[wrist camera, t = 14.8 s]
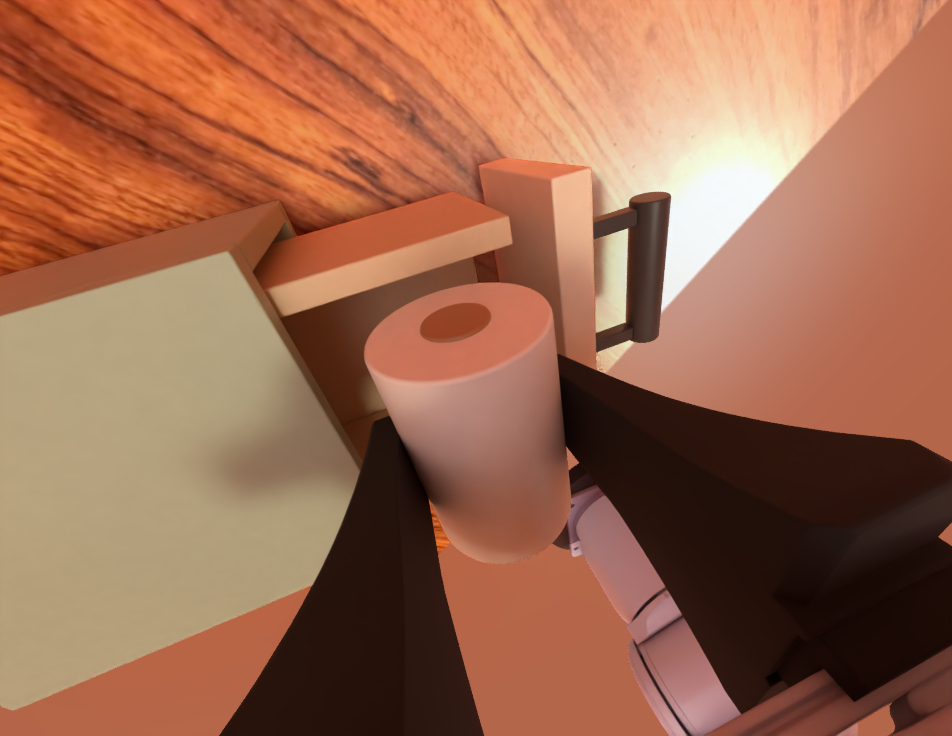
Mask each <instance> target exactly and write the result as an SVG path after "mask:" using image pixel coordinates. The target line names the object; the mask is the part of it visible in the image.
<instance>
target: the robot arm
mask: <svg viewBox="0 0 952 736" xmlns="http://www.w3.org/2000/svg"><path fill="white" fill-rule="evenodd" d="M557 360H558V370H559V380H560V390H561V400H562V410H563V421H564V431H565V441H566V446H567V448H568V449H569V450H570V451H571V453H572V454H573V455H574V457H575V458H576V459H577V460H578V462H579V463H580V464H581V465H582V467H583V468H584V469H585V470H586V472H587V473H588V474H589V475H590V477H591V478H592V479H593V481H594V482H595V483H596V484H595V485H593V486H591V487H588V488H586V489H584V490H581V491H579V492H577V493H574V494H572V495H571V507H570V513H569V516H568V520H567V528H568V536H569V545H570V553H571V555H572V556H573V557H576V556H578V555H581V554H583V556H584V557H585V559H586V561H587V563H588V565H589V566H590V568H591V570H592V571H593V573H594V575H595V576H596V578H597V580H598V581H599V583H600V585H601V587H602V588H603V590H604V592H605V593H606V595H607V597H608V598H609V600H610V602H611V604H612V605H613V607H614V609H615V610H616V611H617V613H618V614H619V615H620V617H621V618H623V620H624V621H626V622H627V623H628V625H627V628H628V630H629V632H630V633H631V635H632V637H633V639H632V640H630V641H629V642H628V661H629V664H630V667H631V669H632V672H633V674H634V676H635V679H636V680H637V683H638V685H639V687H640V689H641V691H642V692H643V694H644V696H645V698H646V700H647V701H648V703H649V705H650V707H651V708H652V710H653V711H654V713H655V715H656V716H657V718H658V720H659V721H660V723H661V724H662V726H663V727H664V729H665V730H666V731H667V733H668V734H669V736H858V722H860V721H862V720H863V719H865V718H867V717H868V716H870V715H872V714H873V713H874V712H877V711H878V710H880V709H882V708H883V707H885V706H887V705H889V704H890V703H892V704H891V705H890V715H891V717H892V719H893V721H894V724H895V730H894V732H893V733H891V734H890V735H888V736H952V546H950V545H949V544H948V543H946V542H945V541H943V540H941V539H940V538H939V537H938V536H939V535H940V534H941V533H942V532H943V531H944V530H945V529H946V528H947V527H948V526H949V525H950V524H951V522H952V462H951V461H950V460H948V459H946V458H944V457H942V456H940V455H938V454H937V453H935V452H933V451H931V450H929V449H927V448H925V447H923V446H921V445H920V444H918V443H916V442H914V441H911V440H904V439H894V438H884V437H875V436H865V435H856V434H846V433H836V432H829V431H821V430H815V429H808V428H801V427H794V426H788V425H782V424H777V423H771V422H766V421H760V420H756V419H750V418H746V417H741V416H736V415H731V414H727V413H722V412H718V411H715V410H710V409H707V408H703V407H699V406H696V405H692V404H689V403H685V402H681V401H678V400H675V399H671V398H668V397H665V396H662V395H659V394H656V393H654V392H651V391H648V390H645V389H642V388H639V387H637V386H634V385H631V384H629V383H626V382H624V381H621V380H619V379H616V378H614V377H611V376H609V375H607V374H604V373H602V372H600V371H597V370H595V369H593V368H590V367H588V366H586V365H583V364H581V363H579V362H577V361H574V360H572V359H570V358H568V357H565V356H563V355H560V354H557ZM219 736H484V734H483V730H482V727H481V723H480V720H479V716H478V713H477V709H476V705H475V702H474V699H473V695H472V691H471V687H470V684H469V680H468V677H467V673H466V670H465V666H464V662H463V659H462V655H461V651H460V647H459V643H458V640H457V636H456V632H455V629H454V625H453V621H452V617H451V614H450V610H449V606H448V602H447V598H446V594H445V590H444V585H443V581H442V576H441V570H440V564H439V558H438V552H437V546H436V540H435V534H434V528H433V522H432V516H431V511H430V505H429V499H428V496H427V494H426V492H425V490H424V487H423V485H422V483H421V481H420V479H419V477H418V475H417V472H416V470H415V468H414V466H413V464H412V462H411V460H410V458H409V455H408V453H407V451H406V449H405V447H404V445H403V443H402V440H401V438H400V436H399V434H398V432H397V430H396V428H395V426H394V423H393V421H392V419H391V417H390V416H387V417H384V418H382V419H379V420H376V421H374V423H373V424H372V427H371V432H370V436H369V441H368V445H367V449H366V453H365V456H364V460H363V463H362V467H361V470H360V473H359V476H358V479H357V483H356V486H355V489H354V492H353V494H352V497H351V500H350V502H349V505H348V508H347V510H346V513H345V516H344V518H343V521H342V523H341V526H340V528H339V530H338V533H337V535H336V538H335V540H334V542H333V544H332V546H331V549H330V551H329V553H328V555H327V557H326V559H325V561H324V563H323V566H322V568H321V570H320V572H319V573H318V575H317V577H316V579H315V581H314V583H313V585H312V587H311V589H310V591H309V593H308V595H307V596H306V598H305V600H304V602H303V604H302V606H301V608H300V609H299V611H298V613H297V615H296V616H295V618H294V620H293V622H292V624H291V625H290V627H289V628H288V630H287V632H286V633H285V635H284V637H283V638H282V640H281V642H280V643H279V645H278V646H277V648H276V650H275V651H274V653H273V655H272V656H271V658H270V659H269V661H268V663H267V665H266V666H265V668H264V669H263V671H262V673H261V675H260V676H259V677H258V679H257V681H256V682H255V684H254V685H253V687H252V688H251V690H250V691H249V693H248V694H247V696H246V698H245V699H244V700H243V702H242V703H241V705H240V706H239V708H238V709H237V711H236V712H235V714H234V715H233V716H232V718H231V719H230V721H229V722H228V724H227V725H226V726H225V728H224V729H223V731H222V732H221V734H220V735H219Z"/></svg>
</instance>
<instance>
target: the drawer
mask: <svg viewBox="0 0 952 736" xmlns="http://www.w3.org/2000/svg"><path fill="white" fill-rule="evenodd" d="M479 172H480V177H481V183H482V188H483V194H484V199H485V205H486V206H485V205H483V204H481V203H479V202H476V201H474V200H472V199H470V198H467V197H465V196H463V195H461V194H459V193H456V192H449V193H446V194H443V195H439V196H436V197H432V198H429V199H425V200H422V201H418V202H415V203H411V204H408V205H405V206H401V207H398V208H394V209H391V210H387V211H384V212H380V213H377V214H373V215H370V216H367V217H363V218H360V219H356V220H353V221H349V222H346V223H342V224H339V225H335V226H332V227H329V228H325V229H322V230H318V231H315V232H311V233H308V234H304V235H301V236H297V237H294V238H290V239H287V240H284V241H280V242H277V243H273V244H271V245H270V246H269V248H268V249H267V251H266V252H265V254H264V255H263V257H262V258H261V260H260V261H259V263H258V264H257V266H256V267H255V269H254V270H253V274H254V276H255V277H256V279H257V281H258V282H259V284H260V286H261V288H262V289H263V291H264V293H265V294H266V296H267V298H268V300H269V301H270V303H271V305H272V306H273V308H274V310H275V312H276V313H277V315H278V317H279V318H280V320H281V322H282V324H283V325H284V327H285V329H286V331H287V332H288V334H289V336H290V337H291V339H292V341H293V343H294V344H295V346H296V348H297V349H298V351H299V353H300V355H301V356H302V358H303V360H304V361H305V363H306V365H307V367H308V368H309V370H310V372H311V373H312V375H313V377H314V379H315V380H316V382H317V384H318V386H319V387H320V389H321V391H322V392H323V394H324V396H325V398H326V399H327V401H328V403H329V404H330V406H331V408H332V410H333V411H334V413H335V415H336V416H337V418H338V420H339V422H340V423H341V425H342V427H343V428H344V430H345V432H346V434H347V435H348V437H349V439H350V441H351V442H352V444H353V446H354V447H355V449H356V451H357V453H358V454H359V456H360V458H361V459H362V461H363V460H364V456H365V453H366V449H367V445H368V441H369V436H370V432H371V427H372V424H373V423H374V421H376V420H379V419H382V418H384V417H387V416H390V415H389V413H388V411H387V408H386V406H385V404H384V402H383V400H382V398H381V396H380V394H379V391H378V389H377V387H376V385H375V383H374V381H373V379H372V376H371V374H370V372H369V370H368V368H367V366H366V364H365V360H364V348H365V344H366V341H367V339H368V338H369V336H370V334H371V333H372V331H373V330H374V329H375V328H376V327H377V326H378V325H379V324H380V323H381V322H382V321H383V320H384V319H385V318H386V317H388V316H389V315H391V314H392V313H393V312H395V311H396V310H398V309H400V308H401V307H403V306H405V305H407V304H409V303H410V302H413V301H415V300H417V299H419V298H421V297H424V296H427V295H429V294H432V293H435V292H438V291H441V290H445V289H448V288H453V287H457V286H462V285H468V284H476V283H479V282H478V277H477V272H476V268H475V263H474V259H473V257H474V256H477V255H480V254H484V253H487V252H490V251H493V250H494V254H495V259H496V265H497V270H498V276H499V281H500V283H510V284H516V285H521V286H524V287H527V288H530V289H532V290H534V291H536V292H538V293H539V294H541V295H542V296H543V297H544V298H545V299H546V300H547V301H548V303H549V305H550V306H551V308H552V312H553V319H554V329H555V339H556V349H557V354H560V355H563V356H565V357H568V358H570V359H572V360H574V361H577V362H579V363H581V364H583V365H586V366H588V367H590V368H593V369H595V370H597V367H596V352H599V351H601V350H604V349H607V348H609V347H612V346H615V345H617V344H620V343H623V342H625V341H628V340H631V341H633V342H638V343H646V342H650V341H653V340H655V339H656V338H657V337H658V335H659V325H660V314H661V303H662V292H663V281H664V270H665V258H666V247H667V236H668V225H669V214H670V203H671V195H670V194H669V193H666V192H650V193H644V194H640V195H637V196H634V197H632V198H631V199H630V201H629V208H628V207H627V208H624V209H621V210H618V211H615V212H612V213H608V214H605V215H602V216H599V217H596V218H593V206H592V169H591V167H584V166H574V165H565V164H556V163H546V162H537V161H528V160H518V159H509V158H503V159H500V160H496V161H493V162H489V163H485V164H482V165H480V166H479ZM627 228H628V259H627V294H626V323H623V324H620V325H617V326H614V327H612V328H609V329H606V330H603V331H601V332H598V333H596V326H595V286H594V246H593V239H596V238H600V237H603V236H606V235H609V234H612V233H615V232H618V231H621V230H624V229H627Z"/></svg>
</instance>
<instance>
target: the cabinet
mask: <svg viewBox="0 0 952 736" xmlns="http://www.w3.org/2000/svg"><path fill="white" fill-rule="evenodd" d="M294 237H297V235H296V233H295V230H294V228H293V226H292V224H291V222H290V220H289V218H288V216H287V214H286V212H285V210H284V208H283V205H282V203H281V202H280V201H279V200H276V201H273V202H269V203H265V204H262V205H258V206H254V207H251V208H247V209H243V210H240V211H236V212H232V213H229V214H225V215H222V216H218V217H214V218H211V219H207V220H203V221H200V222H196V223H192V224H189V225H185V226H181V227H178V228H174V229H170V230H167V231H163V232H159V233H156V234H152V235H148V236H145V237H141V238H138V239H134V240H130V241H127V242H123V243H119V244H116V245H112V246H108V247H105V248H101V249H97V250H94V251H90V252H86V253H83V254H79V255H75V256H72V257H68V258H65V259H61V260H57V261H54V262H50V263H46V264H43V265H39V266H35V267H32V268H28V269H24V270H21V271H17V272H13V273H10V274H6V275H2V276H0V707H4V708H7V709H10V710H17V709H19V708H21V707H24V706H26V705H29V704H31V703H34V702H36V701H38V700H41V699H43V698H46V697H48V696H50V695H53V694H55V693H57V692H60V691H62V690H65V689H67V688H69V687H72V686H74V685H76V684H79V683H81V682H83V681H86V680H88V679H91V678H93V677H95V676H97V675H100V674H103V673H105V672H107V671H110V670H112V669H114V668H117V667H119V666H122V665H124V664H126V663H129V662H131V661H133V660H136V659H138V658H141V657H143V656H145V655H148V654H150V653H152V652H155V651H157V650H160V649H162V648H164V647H167V646H169V645H171V644H174V643H176V642H178V641H181V640H183V639H186V638H188V637H190V636H193V635H195V634H198V633H200V632H202V631H205V630H207V629H209V628H212V627H214V626H216V625H219V624H221V623H224V622H226V621H228V620H231V619H233V618H235V617H238V616H240V615H243V614H245V613H247V612H250V611H252V610H255V609H257V608H259V607H262V606H264V605H266V604H269V603H271V602H274V601H276V600H278V599H281V598H283V597H285V596H288V595H290V594H293V593H295V592H297V591H300V590H302V589H304V588H307V587H309V586H312V585H313V583H314V581H315V579H316V577H317V575H318V573H319V572H320V570H321V568H322V566H323V563H324V561H325V559H326V557H327V555H328V553H329V551H330V549H331V546H332V544H333V542H334V540H335V538H336V535H337V533H338V530H339V528H340V526H341V523H342V521H343V518H344V516H345V513H346V510H347V508H348V505H349V502H350V500H351V497H352V494H353V492H354V489H355V486H356V483H357V479H358V476H359V473H360V470H361V467H362V463H363V461H362V459H361V458H360V456H359V454H358V453H357V451H356V449H355V447H354V446H353V444H352V442H351V441H350V439H349V437H348V435H347V434H346V432H345V430H344V428H343V427H342V425H341V423H340V422H339V420H338V418H337V416H336V415H335V413H334V411H333V410H332V408H331V406H330V404H329V403H328V401H327V399H326V398H325V396H324V394H323V392H322V391H321V389H320V387H319V386H318V384H317V382H316V380H315V379H314V377H313V375H312V373H311V372H310V370H309V368H308V367H307V365H306V363H305V361H304V360H303V358H302V356H301V355H300V353H299V351H298V349H297V348H296V346H295V344H294V343H293V341H292V339H291V337H290V336H289V334H288V332H287V331H286V329H285V327H284V325H283V324H282V322H281V320H280V318H279V317H278V315H277V313H276V312H275V310H274V308H273V306H272V305H271V303H270V301H269V300H268V298H267V296H266V294H265V293H264V291H263V289H262V288H261V286H260V284H259V282H258V281H257V279H256V277H255V276H254V274H253V270H254V269H255V267H256V266H257V264H258V263H259V261H260V260H261V258H262V257H263V255H264V254H265V252H266V251H267V249H268V248H269V246H270V245H271V244H273V243H277V242H280V241H284V240H287V239H290V238H294Z"/></svg>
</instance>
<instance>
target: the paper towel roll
mask: <svg viewBox="0 0 952 736" xmlns="http://www.w3.org/2000/svg"><path fill="white" fill-rule="evenodd" d="M364 360H365V364H366V366H367V368H368V370H369V372H370V374H371V376H372V379H373V381H374V383H375V385H376V387H377V389H378V391H379V394H380V396H381V398H382V400H383V402H384V404H385V406H386V408H387V411H388V413H389V415H390V417H391V419H392V421H393V423H394V426H395V428H396V430H397V432H398V434H399V436H400V438H401V440H402V443H403V445H404V447H405V449H406V451H407V453H408V455H409V458H410V460H411V462H412V464H413V466H414V468H415V470H416V472H417V475H418V477H419V479H420V481H421V483H422V485H423V487H424V490H425V492H426V494H427V496H428V498H429V500H430V503H431V505H432V507H433V509H434V511H435V513H436V515H437V517H438V520H439V522H440V524H441V526H442V528H443V530H444V532H445V534H446V536H447V538H448V539H449V541H450V542H451V543H452V544H453V545H454V546H455V547H456V548H457V549H458V550H459V551H461V552H462V553H464V554H465V555H467V556H469V557H470V558H473V559H476V560H478V561H481V562H486V563H492V564H510V563H515V562H520V561H523V560H526V559H529V558H531V557H533V556H535V555H537V554H538V553H540V552H542V551H543V550H545V549H546V548H547V547H548V546H549V545H550V544H552V543H553V542H554V540H555V539H556V538H557V537H558V536H559V534H560V533H561V531H562V530H563V528H564V526H565V524H566V522H567V520H568V516H569V513H570V507H571V492H570V482H569V472H568V462H567V452H566V441H565V431H564V421H563V410H562V400H561V390H560V380H559V370H558V360H557V349H556V339H555V329H554V319H553V312H552V308H551V306H550V305H549V303H548V301H547V300H546V299H545V298H544V297H543V296H542V295H541V294H539V293H538V292H536V291H534V290H532V289H530V288H527V287H524V286H521V285H516V284H510V283H476V284H468V285H462V286H457V287H453V288H448V289H445V290H441V291H438V292H435V293H432V294H429V295H427V296H424V297H421V298H419V299H417V300H415V301H413V302H410V303H409V304H407V305H405V306H403V307H401V308H400V309H398V310H396V311H395V312H393V313H392V314H391V315H389V316H388V317H386V318H385V319H384V320H383V321H382V322H381V323H380V324H379V325H378V326H377V327H376V328H375V329H374V330H373V331H372V333H371V334H370V336H369V338H368V339H367V341H366V344H365V348H364Z"/></svg>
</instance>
